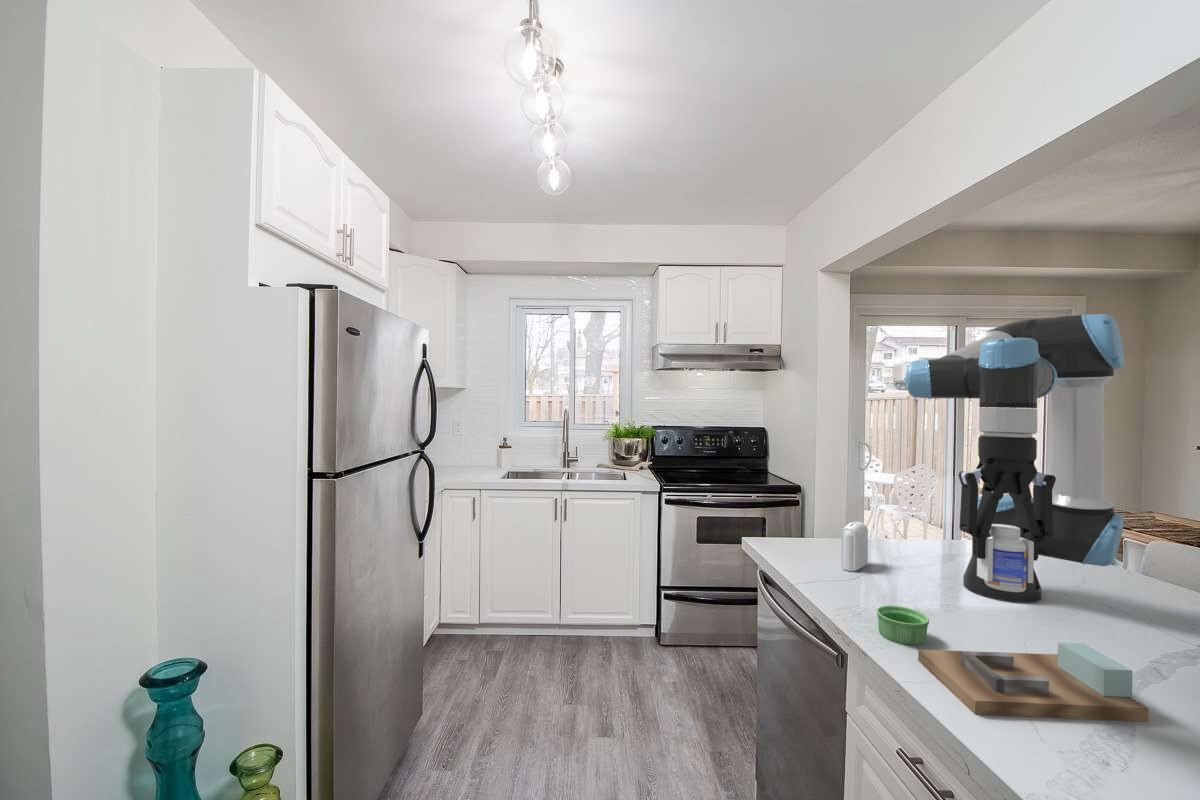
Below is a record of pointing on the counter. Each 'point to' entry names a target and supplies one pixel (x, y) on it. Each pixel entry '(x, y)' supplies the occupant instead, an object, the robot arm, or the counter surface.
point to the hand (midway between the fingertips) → (1004, 579)
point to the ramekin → (902, 624)
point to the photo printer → (854, 546)
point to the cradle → (1024, 686)
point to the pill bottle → (1008, 559)
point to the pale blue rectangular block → (1095, 669)
